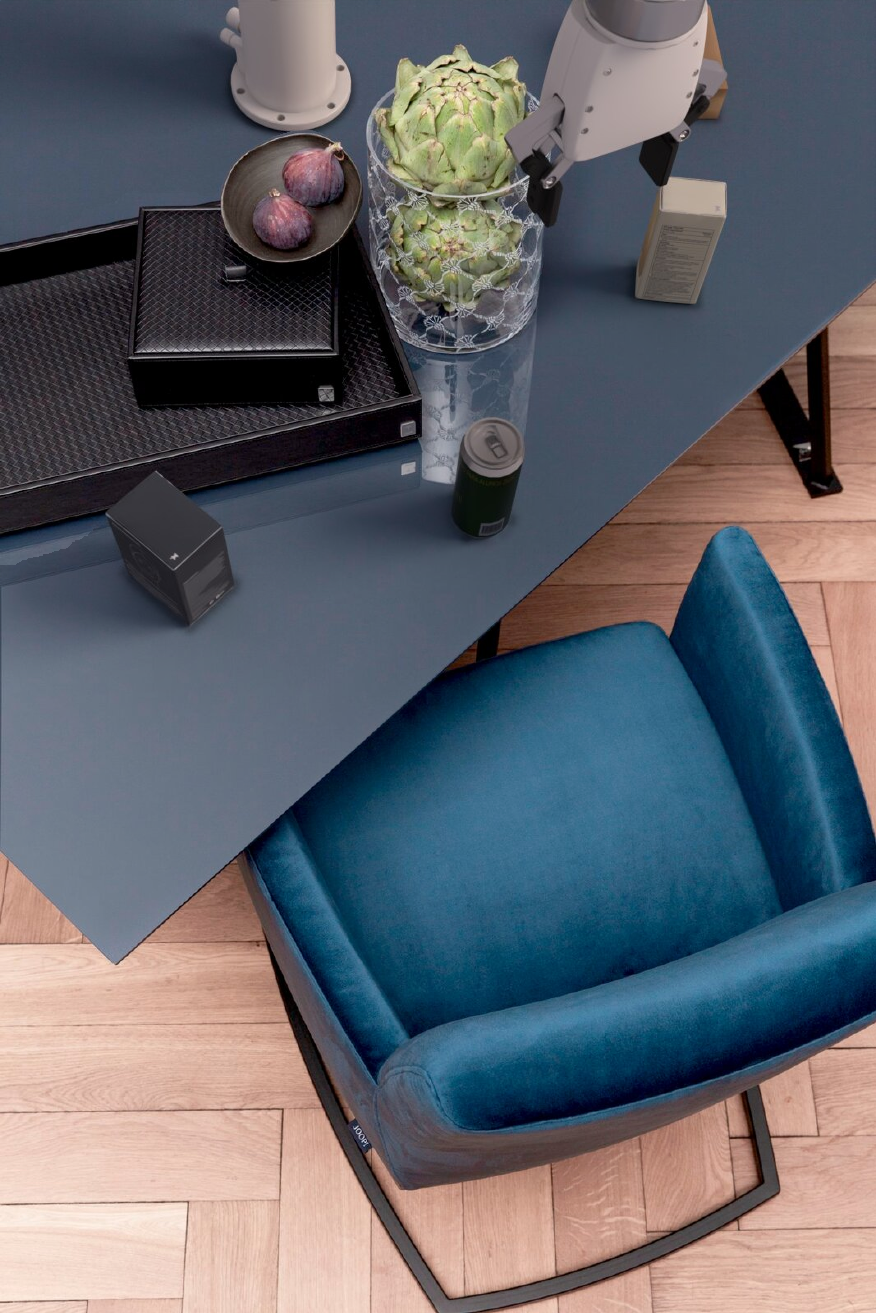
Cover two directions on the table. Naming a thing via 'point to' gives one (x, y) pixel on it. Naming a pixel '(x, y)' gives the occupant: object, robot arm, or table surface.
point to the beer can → (487, 477)
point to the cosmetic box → (681, 239)
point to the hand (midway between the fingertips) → (597, 193)
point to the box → (172, 547)
